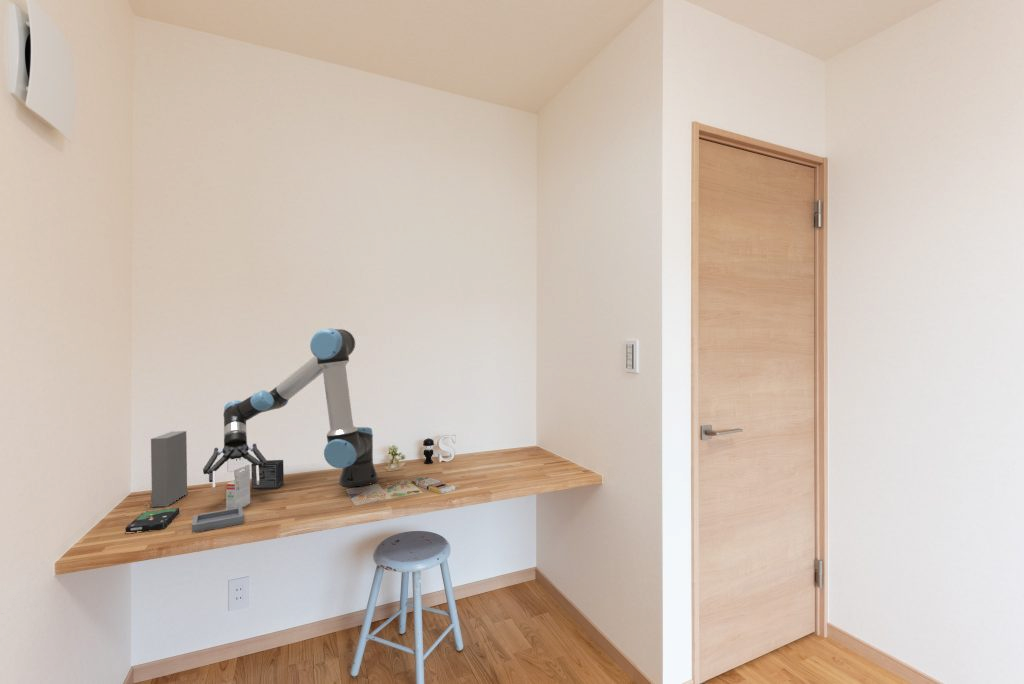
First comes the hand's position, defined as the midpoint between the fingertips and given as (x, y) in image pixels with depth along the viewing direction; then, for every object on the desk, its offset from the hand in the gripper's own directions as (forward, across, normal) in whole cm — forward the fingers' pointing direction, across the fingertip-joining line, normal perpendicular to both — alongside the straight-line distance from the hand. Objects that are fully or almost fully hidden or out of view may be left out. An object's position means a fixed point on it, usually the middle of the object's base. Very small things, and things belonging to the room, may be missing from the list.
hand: (236, 486), depth 167 cm
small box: (-9, -11, -21) cm, 25 cm away
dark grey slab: (-10, +22, -22) cm, 33 cm away
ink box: (+6, -1, -6) cm, 8 cm away
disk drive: (+7, +24, -5) cm, 25 cm away
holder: (+15, +5, +4) cm, 16 cm away
